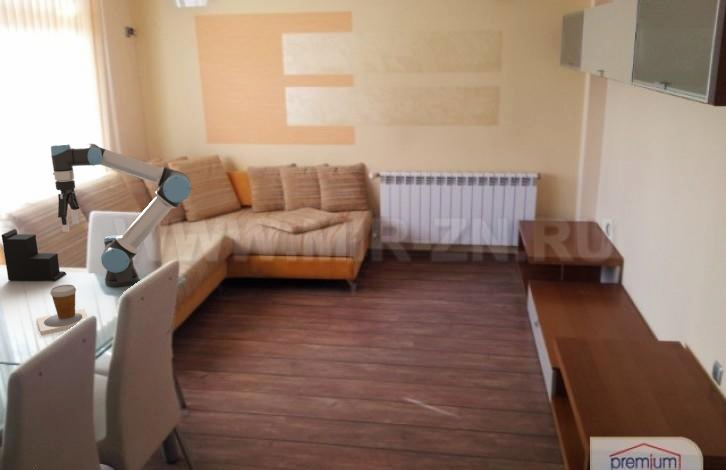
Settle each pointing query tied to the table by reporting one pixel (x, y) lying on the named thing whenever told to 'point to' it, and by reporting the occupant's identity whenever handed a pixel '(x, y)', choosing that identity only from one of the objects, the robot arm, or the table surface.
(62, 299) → the disposable coffee cup
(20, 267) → the bookend
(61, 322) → the carrier board
